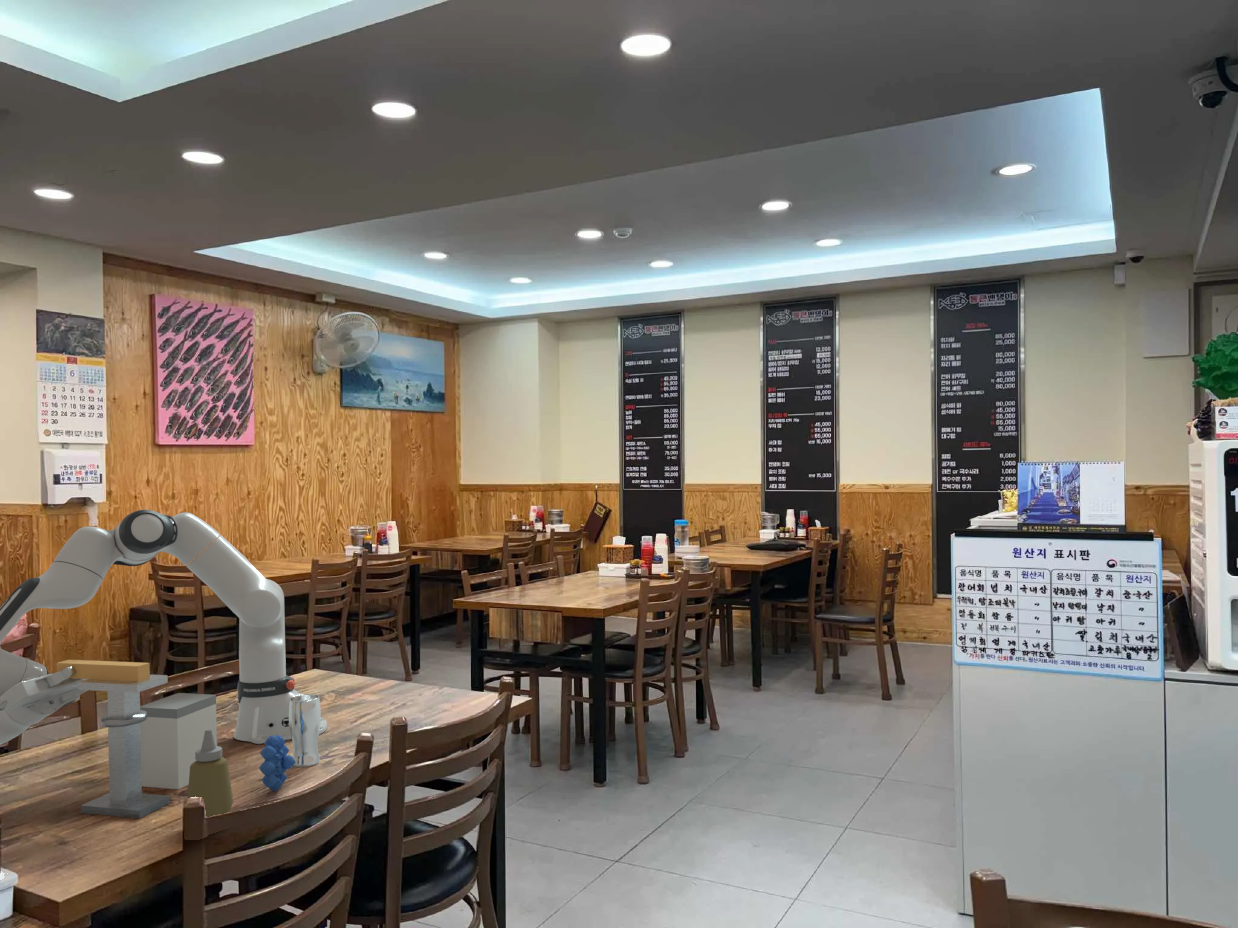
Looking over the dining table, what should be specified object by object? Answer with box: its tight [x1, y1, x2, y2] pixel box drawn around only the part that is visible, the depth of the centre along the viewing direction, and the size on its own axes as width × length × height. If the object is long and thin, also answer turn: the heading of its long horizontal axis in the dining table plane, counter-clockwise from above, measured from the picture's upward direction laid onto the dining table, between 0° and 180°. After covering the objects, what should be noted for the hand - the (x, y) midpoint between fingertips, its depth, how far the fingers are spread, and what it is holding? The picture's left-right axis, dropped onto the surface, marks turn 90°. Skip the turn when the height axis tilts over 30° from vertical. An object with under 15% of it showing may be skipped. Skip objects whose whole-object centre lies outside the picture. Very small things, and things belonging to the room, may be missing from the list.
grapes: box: [258, 735, 295, 792], centre depth 186 cm, size 12×7×12 cm, turn 2°
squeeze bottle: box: [186, 730, 234, 817], centre depth 168 cm, size 8×8×18 cm
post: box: [78, 674, 171, 819], centre depth 178 cm, size 14×8×26 cm, turn 76°
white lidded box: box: [140, 692, 218, 790], centre depth 195 cm, size 10×12×17 cm
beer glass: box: [289, 693, 322, 768], centre depth 203 cm, size 7×7×15 cm
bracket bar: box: [56, 659, 151, 681], centre depth 179 cm, size 20×3×3 cm, turn 75°
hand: (81, 667), depth 180 cm, fingers closed on bracket bar, 3 cm apart
